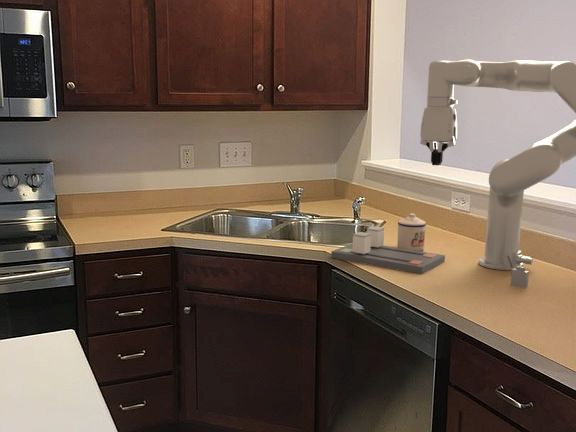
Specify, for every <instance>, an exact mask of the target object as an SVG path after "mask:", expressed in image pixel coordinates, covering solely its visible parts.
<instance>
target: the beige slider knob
mask: <svg viewBox="0 0 576 432" xmlns="http://www.w3.org/2000/svg"><path fill="white" fill-rule="evenodd" d="M352 243H353V251H352V252H355V253H361V254H365V253H368V252H370V247H371V234H370V233H367V232H363V231H362V232H361V231H359V232H355V233H352Z"/></svg>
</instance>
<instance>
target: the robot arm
mask: <svg viewBox="0 0 576 432" xmlns="http://www.w3.org/2000/svg"><path fill="white" fill-rule="evenodd" d="M455 86H462V87H467V88H469V87H471V88H475V87H476V88H489V89H490V88H492V89H494V88H495V89H505V90H508V91H512V92H513V91H515V92H531V93H547V94H549V93H550V94H552V93H553V94H557V95H558V96H559V97H560V98H561V100H562V101H563V102H564V103H565V104H566V105H567V106H568V107H569V108H570V109H571V110H572V112H574V113H575V114H576V63H575V62H573V61H569V60H564V61H543V60H541V61H540V60H526V59H525V60H524V59H523V60H519V59H518V60H512V61H502V62H501V61H500V62H499V61H498V62H497V61H478V60H477V61H476V60H473V59H462V60H454V61H451V60H433V61H431V62H430V63H429V65H428V81H427V98H426V107H424V111H423V112H422V113H423V115H422V117H421V118H422V119H421V125H420V141H419V142H420V144H421V145H422V146H427V148H428V149H429V151H430V152H431V155H430V163H431V165H432V166H441V165H442V163H443V157H444V152H445V150H447V149H448V148H450V147H455V146H456V144H457V143H456V140H457V138H458V120H457V118H458V117H457V110H456V108H454V106H455V105H458V103H459V102H458V99H455V97H454V96H455V95H454V92H455V91H454V90H455ZM437 143H438V144H437ZM575 157H576V118H575V119H574V120H573V122H571V123H570V124H569V125H567V126H566V127H564V128H562V129H560V130H558V131H557V132H556V133H555V132H554V134H552V135H550V136H548V137H546V138H544V139H542V140H540V141H537V142H535V143H532V144H531V145H530V146H529V147H528V148H527V149H525V150H523V151H522V152H520V153H518V154H516V155H514V156H512V157H511V158H509V159H503V160H500V161H497V163H496V164H494V165H493V167H492V168H491V171H490V173H489V175H488V185H489V193H488V194H489V195H488V206H487V221H486V234H485V246H484V256H483V257H480V258H479V259H478V264H479V265H480V266H481V267H485V268H488V269H492V270H498V271H499V270H500V271H507V269H506V267H505V264H504V261H503V259H502V256H504V255H507V254H509V256H510V259H511V261H512V264H513V267H514V269H516V267H517V266H520V267H524V264H526V265H531V266H532V265H533V262H534V258H531V257H532V256H525V255H523V254H522V250H520V238H521V225H522V215H523V207H524V206H523V205H524V204H523V203H524V193H525V190H527V189H529V188H531V187H533V186H535V185H537V184H539V183H541V182H542V181H545V180H547V179H548V178H550V177H551V176H553V175H555V173H556V172H557V171H558V170H559V169H560V167H561V165H564V164H565V163H566V162H567V163H568V161H570V160H572V159H575Z"/></svg>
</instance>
